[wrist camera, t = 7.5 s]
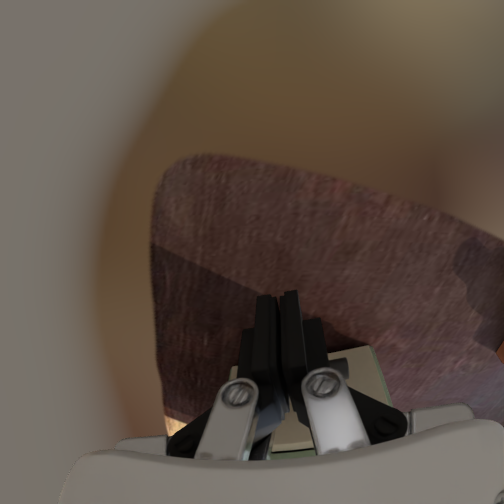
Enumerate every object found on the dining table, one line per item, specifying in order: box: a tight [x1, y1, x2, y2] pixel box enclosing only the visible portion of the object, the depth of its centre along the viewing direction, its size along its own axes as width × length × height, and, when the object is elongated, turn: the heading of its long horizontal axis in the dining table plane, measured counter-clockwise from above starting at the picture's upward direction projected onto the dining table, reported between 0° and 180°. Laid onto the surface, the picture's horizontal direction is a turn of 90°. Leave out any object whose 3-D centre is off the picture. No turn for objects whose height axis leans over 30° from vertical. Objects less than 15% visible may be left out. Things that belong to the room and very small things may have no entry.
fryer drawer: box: [230, 345, 388, 454], centre depth 19 cm, size 18×11×8 cm, turn 13°
